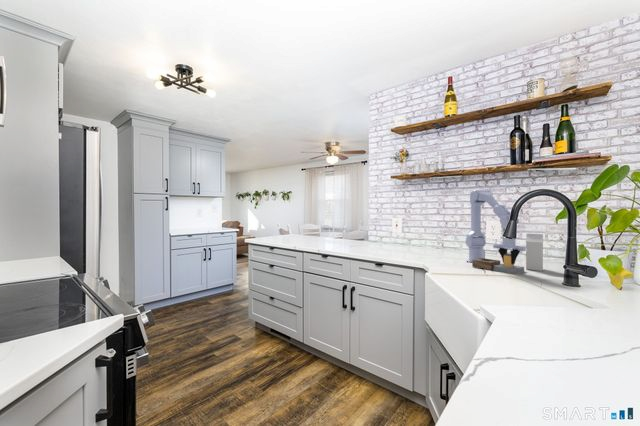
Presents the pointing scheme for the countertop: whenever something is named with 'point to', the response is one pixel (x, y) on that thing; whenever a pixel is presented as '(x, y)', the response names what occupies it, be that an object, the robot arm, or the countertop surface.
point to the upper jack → (485, 263)
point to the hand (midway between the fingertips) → (508, 263)
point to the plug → (508, 260)
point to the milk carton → (534, 252)
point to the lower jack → (509, 269)
